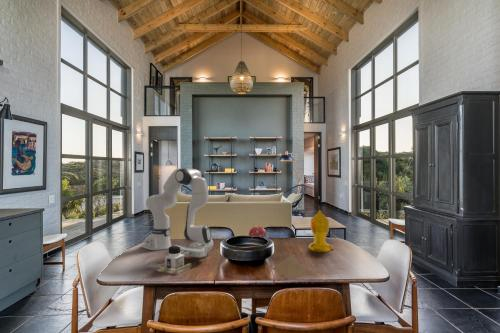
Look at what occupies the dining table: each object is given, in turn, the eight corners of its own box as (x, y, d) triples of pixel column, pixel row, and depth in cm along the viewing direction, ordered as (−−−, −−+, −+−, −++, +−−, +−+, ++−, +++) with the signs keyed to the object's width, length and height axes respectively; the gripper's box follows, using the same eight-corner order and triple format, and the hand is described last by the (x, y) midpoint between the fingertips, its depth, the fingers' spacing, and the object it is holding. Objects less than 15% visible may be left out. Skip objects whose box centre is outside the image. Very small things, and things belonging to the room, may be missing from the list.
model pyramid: (295, 265, 173) (295, 248, 173) (312, 274, 157) (312, 256, 157) (270, 269, 166) (270, 251, 166) (286, 279, 150) (286, 260, 150)
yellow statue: (332, 245, 219) (332, 208, 219) (333, 254, 195) (333, 212, 196) (309, 243, 223) (309, 207, 224) (307, 252, 200) (307, 211, 200)
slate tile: (146, 269, 165) (146, 266, 165) (152, 266, 171) (152, 263, 171) (155, 270, 164) (155, 267, 164) (161, 266, 169) (161, 264, 169)
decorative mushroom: (257, 242, 226) (257, 223, 226) (270, 245, 217) (270, 225, 217) (245, 245, 216) (245, 225, 217) (258, 249, 207) (258, 228, 207)
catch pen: (156, 270, 161) (156, 266, 161) (172, 264, 173) (172, 260, 173) (176, 274, 155) (176, 270, 155) (191, 267, 167) (191, 263, 167)
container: (175, 272, 159) (175, 248, 159) (164, 270, 162) (164, 247, 163) (184, 267, 166) (184, 245, 166) (173, 266, 169) (173, 243, 170)
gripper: (182, 242, 187) (167, 247, 175) (208, 246, 178) (195, 251, 166) (182, 252, 187) (167, 257, 174) (208, 256, 178) (195, 262, 166)
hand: (181, 254), depth 170 cm, fingers closed
